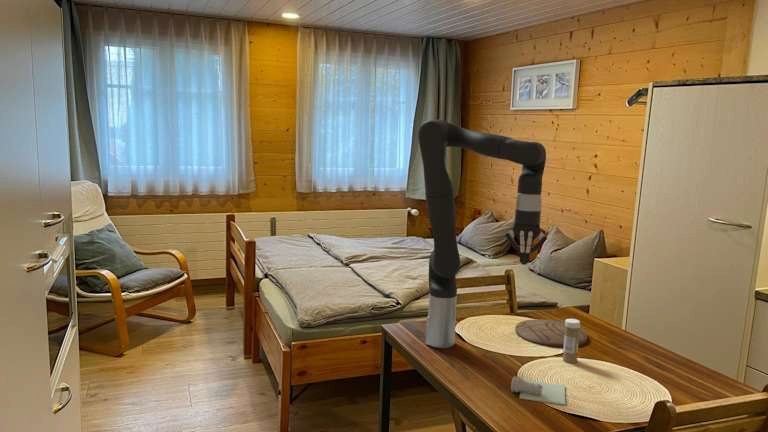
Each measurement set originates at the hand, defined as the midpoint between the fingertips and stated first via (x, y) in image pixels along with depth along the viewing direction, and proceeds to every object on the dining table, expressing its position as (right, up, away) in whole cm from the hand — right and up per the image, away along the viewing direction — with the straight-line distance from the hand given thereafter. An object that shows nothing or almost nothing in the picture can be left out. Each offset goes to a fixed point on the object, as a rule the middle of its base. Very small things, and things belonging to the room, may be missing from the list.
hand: (524, 264), depth 179 cm
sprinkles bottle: (+17, -32, +8) cm, 37 cm away
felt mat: (+1, -35, -15) cm, 38 cm away
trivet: (+17, -29, +32) cm, 46 cm away
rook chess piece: (-7, -32, -15) cm, 36 cm away
